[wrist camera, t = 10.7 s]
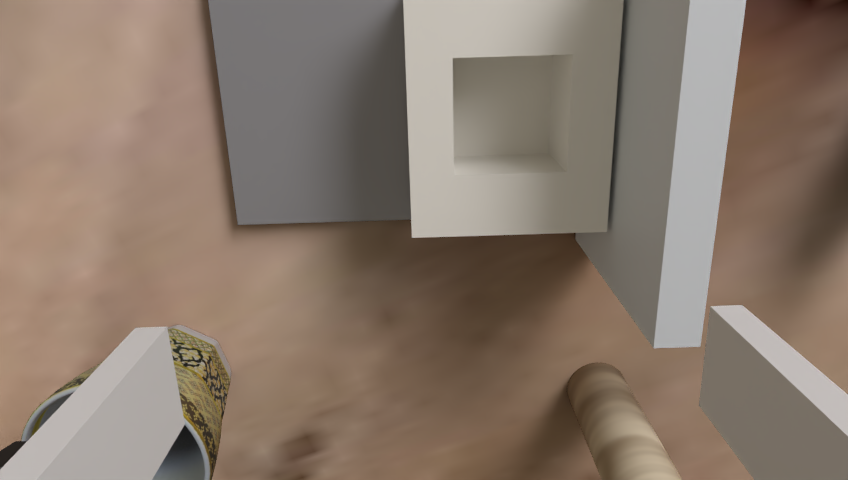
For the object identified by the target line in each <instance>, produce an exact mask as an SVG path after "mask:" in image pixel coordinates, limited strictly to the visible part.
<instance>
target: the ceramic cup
mask: <svg viewBox="0 0 848 480" xmlns="http://www.w3.org/2000/svg"><path fill="white" fill-rule="evenodd" d="M167 329H168V335H169V340H170V345H171V351H172V356H173V362H174V367H175V373H176V378H177V384H178V389H179V394H180V400H181V405H182V411H183V416H184V422H185V425H184V427H183V428H182V430H181V432H180V433H179V435H178V437H177V438H176V440H175V442H174V444H173V445H172V447H171V449H170V450H169V452H168V454H167V455H166V457H165V459H164V460H163V462H162V464H161V465H160V467H159V469H158V470H157V472H156V474H155V475H154V477H153V479H152V480H212V476H213V472H214V468H215V464H216V460H217V454H218V449H219V443H220V437H221V425H222V419H223V415H224V410H225V405H226V399H227V394H228V389H229V385H230V379H231V369H230V366H229V364H228V362H227V360H226V358H225V356H224V354H223V351H222V349H221V347H220V345H219V343H218V342H217V340H215V339H212V338H210V337H208V336H206V335H203V334H201V333H199V332H196V331H194V330H192V329H190V328H187V327H185V326H183V325H175V326H171V327H168V328H167ZM102 362H103V361H102ZM102 362H101V363H102ZM101 363H100V364H101ZM100 364H98V365H97V366H95V367H93V368H91V369H89V370H88V371H86V372H84V373H82V374H81V375H79V376H78V377H76V378H75V379H73V380H72V381H70V382H69V383H67V384H66V385H64V386H63V387H61V388H60V389H59V390H57V391H56V392H55V393H54V394H52V395H51V396H50V397H49V398H48V399H46V400H45V401H44V402H43V403H42V404H40V405H39V406H38V408H37V409H36V410H35V411H34V412H33V413H32V415H31V416H30V418H29V420H28V421H27V423H26V426H25V428H24V430H23V434H22V438H21V441H28V440H29V439H30V438H31V437H32V436H33V435H34V434H35V433H36V432H37V431H38V429H39V428H40V427H41V426H42V425H43V424H44V423H45V422H46V421H47V420H48V419H49V418H50V417H51V416H52V415H53V414H54V413H55V412H56V411H57V410H58V408H59V407H60V406H61V405H62V404H63V403H64V402H65V401H66V400H67V399H68V398H69V397H70V396H71V395H72V394H73V393H74V392H75V391H76V390H77V389H78V388H79V386H80V385H81V384H82V383H83V382H84V381H85V380H86V379H87V378H88V377H89V376H90V375H91V374H92V373H93V372H94V371H95V370H96V369H97V368H98V367H99V366H100Z"/></svg>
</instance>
